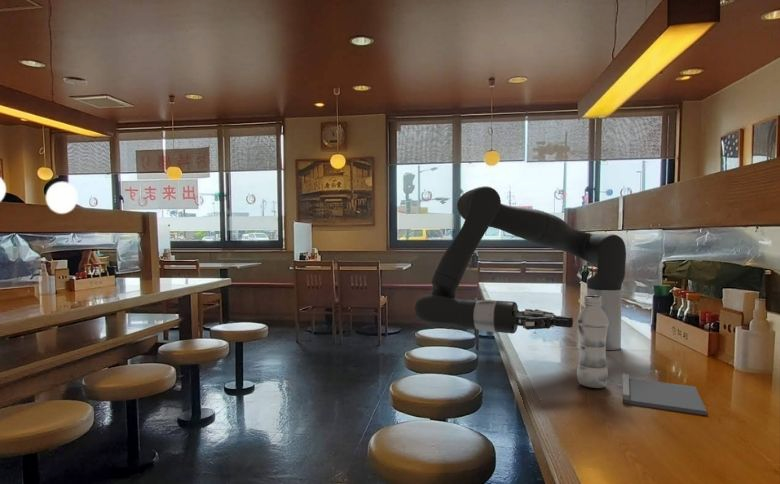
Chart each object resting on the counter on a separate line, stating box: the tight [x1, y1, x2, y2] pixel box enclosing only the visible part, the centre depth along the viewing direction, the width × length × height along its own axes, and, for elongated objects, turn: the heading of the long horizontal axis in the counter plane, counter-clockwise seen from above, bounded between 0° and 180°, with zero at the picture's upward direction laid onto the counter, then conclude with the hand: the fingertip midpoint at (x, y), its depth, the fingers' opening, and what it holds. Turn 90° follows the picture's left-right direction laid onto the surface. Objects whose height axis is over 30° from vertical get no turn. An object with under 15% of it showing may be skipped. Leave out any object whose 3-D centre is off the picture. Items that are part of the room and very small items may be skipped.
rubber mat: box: [622, 372, 708, 416], centre depth 96 cm, size 15×14×2 cm
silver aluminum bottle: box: [576, 294, 609, 389], centre depth 102 cm, size 6×7×20 cm
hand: (572, 322), depth 104 cm, fingers closed
